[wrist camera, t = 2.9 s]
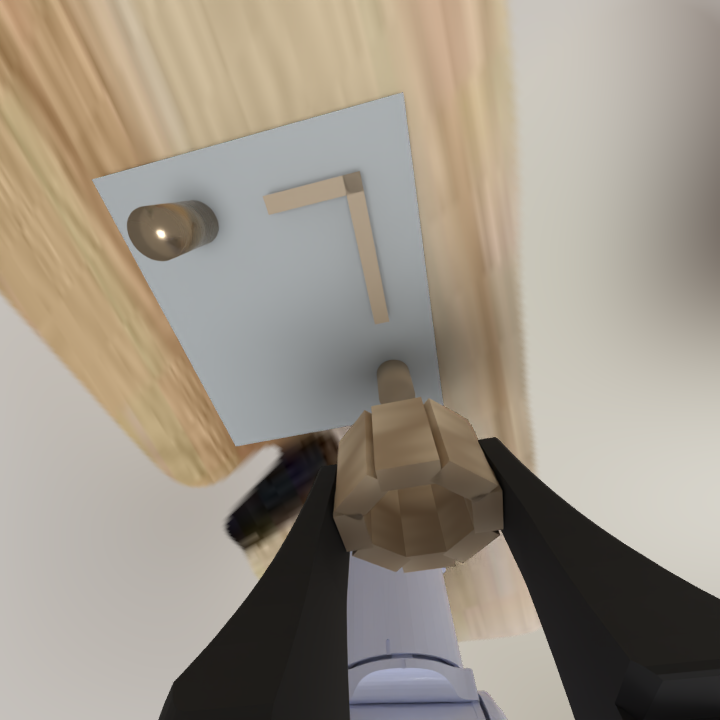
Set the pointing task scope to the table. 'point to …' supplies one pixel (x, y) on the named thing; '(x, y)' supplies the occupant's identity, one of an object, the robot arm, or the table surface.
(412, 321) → the board
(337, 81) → the table surface
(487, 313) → the table surface
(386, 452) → the ring
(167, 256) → the end peg
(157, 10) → the table surface
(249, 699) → the robot arm
